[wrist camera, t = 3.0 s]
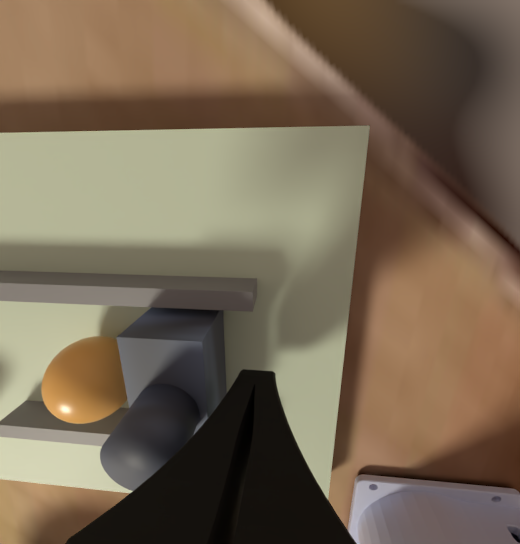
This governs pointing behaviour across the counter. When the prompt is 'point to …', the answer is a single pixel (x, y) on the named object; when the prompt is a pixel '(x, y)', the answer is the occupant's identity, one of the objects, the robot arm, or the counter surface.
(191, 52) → the counter surface
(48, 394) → the ball
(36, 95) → the counter surface
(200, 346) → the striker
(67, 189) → the board
